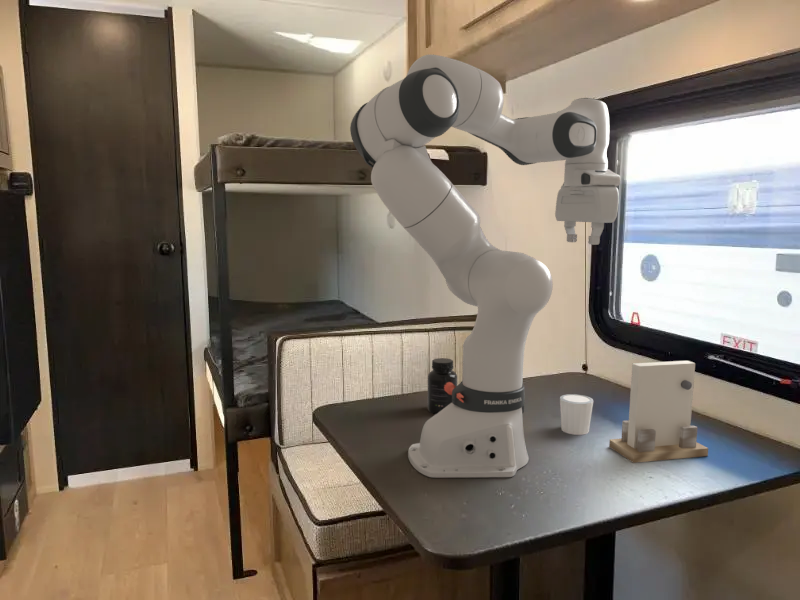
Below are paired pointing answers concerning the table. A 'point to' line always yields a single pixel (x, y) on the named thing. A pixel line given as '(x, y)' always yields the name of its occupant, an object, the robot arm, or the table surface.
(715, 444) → the table surface
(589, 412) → the white cup
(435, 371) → the supplement bottle
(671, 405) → the rectangular slab
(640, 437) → the peg board base
